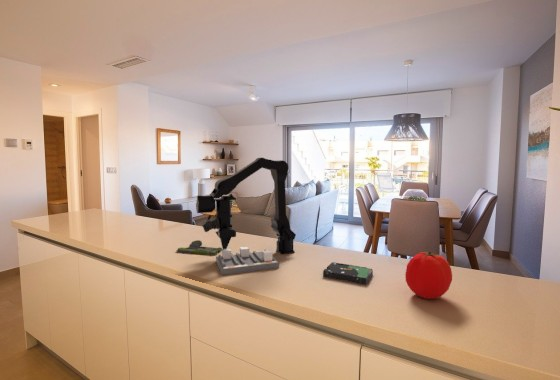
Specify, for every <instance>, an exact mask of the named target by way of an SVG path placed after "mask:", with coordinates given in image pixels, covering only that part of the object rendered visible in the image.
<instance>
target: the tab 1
mask: <svg viewBox="0 0 560 380" xmlns="http://www.w3.org/2000/svg"><path fill="white" fill-rule="evenodd" d="M231 253H232V250H231V249H230V248H227V249H223V248H222V251H221V256H222V258H223V260H224V259H231Z"/></svg>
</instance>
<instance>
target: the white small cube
mask: <svg viewBox="0 0 560 380" xmlns="http://www.w3.org/2000/svg"><path fill="white" fill-rule="evenodd" d="M249 252H250V248H249V247H248V246H241V247H239V254H240V256H241V257H249Z"/></svg>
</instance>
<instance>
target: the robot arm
mask: <svg viewBox="0 0 560 380" xmlns="http://www.w3.org/2000/svg"><path fill="white" fill-rule="evenodd" d="M261 169H264V170H269V172H270V175H271V178H272V179H273V183H274V189H273V190H274V208H275V209H274V210H275V211H274V212H275V214H274V217H271V219H270V222H271V225H270V228H272V231H273V232H274V233H275V234H276V236H277V240H276V251H277V252H278V253H279V254H281V255H283V254H285V255H286V254H292V253H295V250H294V240H295V239H296V235H297V234H296V233H295V232H294V231H292V228H291V225H290V223H291V222H290V220H289V218H288V215H287V201H286V180H287V178H288V175H289V174H288V173H289V164H288V163H287V162H286V161H285V160H279V159H278V160H273V159H268V158H264V157H257V158H255V160H253V161H252V162H249V164H247V165H246V166H244V167H243V168H241V169H239V170H237V171H236V172H234V173H233V174H231V175H228V176H226V177H223V178H221V179H218V180H217V181H216V182H215V183H214V188H213V190H212V191H211V192H210V194H209V195H208V194H207V195H200V194H198V195H196V203H195V209H196V210H195V211H196V214H207V213H208V214H209V213H213V211H215V210H216V211H215V212H216V213H215V214H214V217H212V218H209V219H208V220H204V221H202V222H201V226H202V228H203V231H204V232H205V233H208V232H209V231H211V230H217V231H215V234H216V235H217V237H218V238H219V239H220V243H221V248H222V249H228V246H229V244H230V241H231V240H232V239H231V238H236V237H237V231H236V230H235V229H234V228H233V224H232V218H233V214H232V203H231V202H232V201H236V200H237V198H236V197H235V196H234V195H233V194H232V192H233V191H234V190H235V189H236V188H237V186H239V184H240V183H241V182H243V181H245V179H247V178H249V177H250V176H252V175H254V174H255V173H256V172H258V171H259V170H261Z"/></svg>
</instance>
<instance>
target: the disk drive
mask: <svg viewBox="0 0 560 380" xmlns="http://www.w3.org/2000/svg"><path fill="white" fill-rule="evenodd" d="M373 271H374V270H373V268H370V267H366V266H359V265H352V264H345V263H339V262H335V261H334V262H333V261H332V262H331V263H330V264H329V265H327V267H326V268H324V269H323V271H322V277H323V278H327V279H333V280H339V281H344V282H348V283H349V282H350V283H354V284H358V285H359V284H360V285H365V286H367V285H368V284H369V282H370V280H371V278H372V277H373V274H374V273H373Z"/></svg>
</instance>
